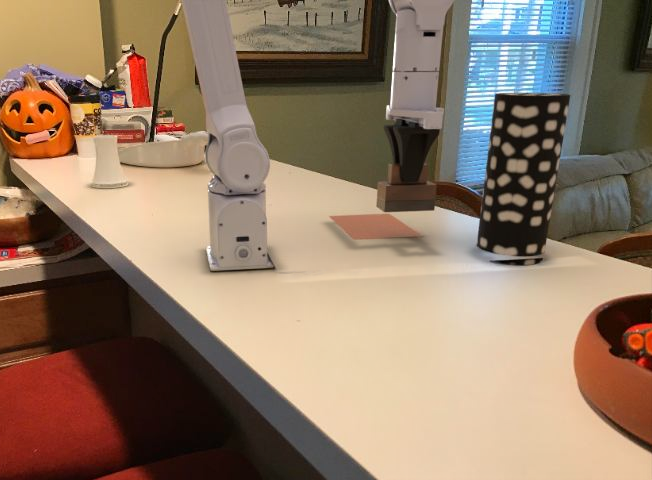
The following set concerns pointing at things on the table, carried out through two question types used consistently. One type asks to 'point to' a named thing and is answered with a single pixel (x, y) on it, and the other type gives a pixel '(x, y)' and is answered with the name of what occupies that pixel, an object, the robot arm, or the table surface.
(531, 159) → the white-spotted black cylinder
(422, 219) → the table surface
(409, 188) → the brown stepped wooden block
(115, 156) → the vase
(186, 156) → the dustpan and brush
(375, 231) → the tile
